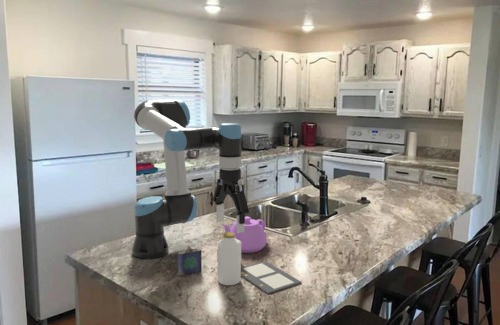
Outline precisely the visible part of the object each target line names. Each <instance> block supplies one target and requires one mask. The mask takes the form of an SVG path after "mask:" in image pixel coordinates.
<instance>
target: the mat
mask: <svg viewBox="0 0 500 325" xmlns="http://www.w3.org/2000/svg"><path fill="white" fill-rule="evenodd" d="M241 278H243V279H245V280H246V281H248V283H250V284H252V285H254V286H255V287H257V288H258V289H259V290H260V291H263V292H264V293H265V294H267V295H271V294H273V293H276V292H279V291H283V290H286V289H288V288H291V287H294V286H298V285H301V284H302V281H301V280H299V279H297V278H295V277H294V276H292V275H290V274H288V273H287V272H285V271H283V270H282V269H280V268H278V267H277V266H275V265H273V264H271V263H270V262H268V261H266V260H265V261H264V260H263V261H261V262H258V263H254V264H249V265H246V266H243V267H242V266H241Z"/></svg>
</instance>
